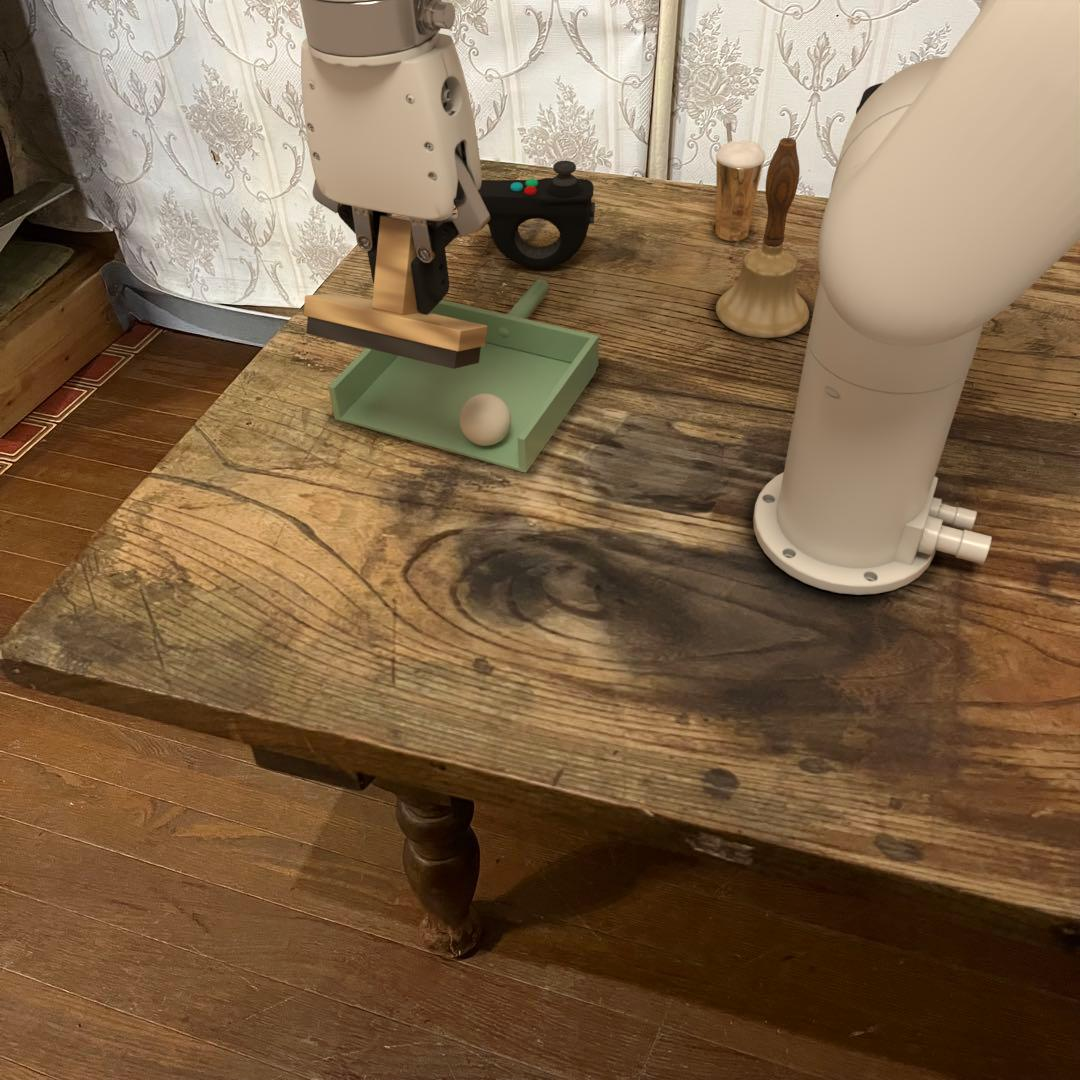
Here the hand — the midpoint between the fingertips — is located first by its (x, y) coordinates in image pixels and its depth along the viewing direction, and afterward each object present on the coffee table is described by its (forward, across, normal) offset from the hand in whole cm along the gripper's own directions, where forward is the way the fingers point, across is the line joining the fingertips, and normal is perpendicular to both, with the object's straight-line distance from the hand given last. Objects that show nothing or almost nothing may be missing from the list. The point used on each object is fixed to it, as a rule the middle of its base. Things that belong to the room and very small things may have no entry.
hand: (413, 297), depth 71 cm
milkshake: (+14, -11, -41) cm, 45 cm away
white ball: (+11, -3, -2) cm, 12 cm away
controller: (+14, +5, -28) cm, 32 cm away
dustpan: (+14, +1, -11) cm, 18 cm away
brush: (+2, 0, +3) cm, 4 cm away
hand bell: (+14, -18, -28) cm, 36 cm away
